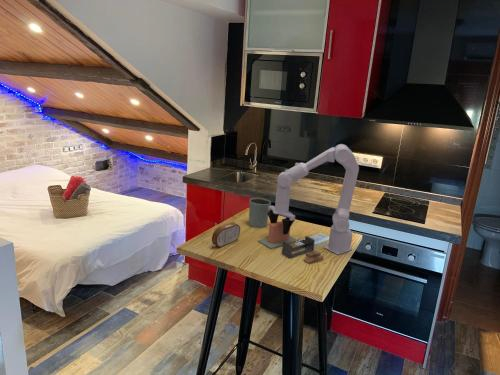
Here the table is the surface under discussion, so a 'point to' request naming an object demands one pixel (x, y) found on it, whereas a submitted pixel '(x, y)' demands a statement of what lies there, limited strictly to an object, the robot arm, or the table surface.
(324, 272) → the table surface
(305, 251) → the rack
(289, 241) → the mat
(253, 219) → the grey cylindrical pot
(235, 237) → the tin
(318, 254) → the offcut stack
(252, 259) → the table surface
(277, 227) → the salmon pink rectangular block
